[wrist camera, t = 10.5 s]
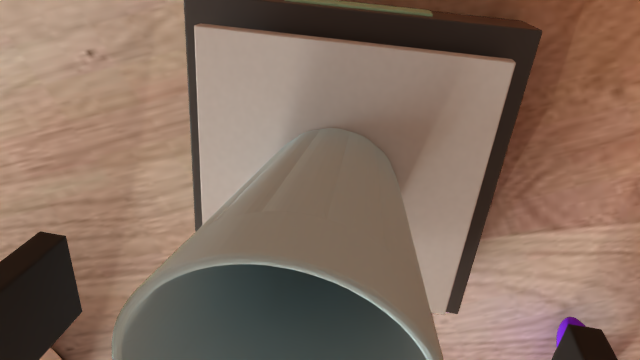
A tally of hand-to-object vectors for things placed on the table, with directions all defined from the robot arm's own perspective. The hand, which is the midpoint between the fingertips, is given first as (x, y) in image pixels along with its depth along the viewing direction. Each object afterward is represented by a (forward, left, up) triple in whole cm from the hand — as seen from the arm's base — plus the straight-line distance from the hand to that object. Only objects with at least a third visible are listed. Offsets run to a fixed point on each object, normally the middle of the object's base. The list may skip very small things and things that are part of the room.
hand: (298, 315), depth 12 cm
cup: (0, 0, -8) cm, 8 cm away
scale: (0, 0, -13) cm, 13 cm away
